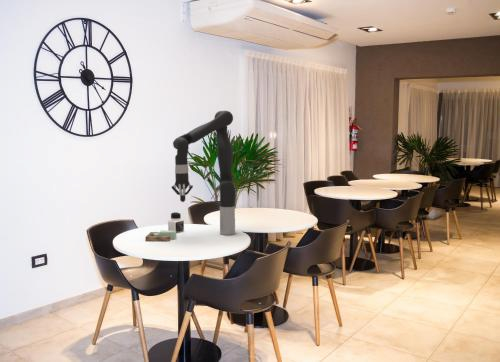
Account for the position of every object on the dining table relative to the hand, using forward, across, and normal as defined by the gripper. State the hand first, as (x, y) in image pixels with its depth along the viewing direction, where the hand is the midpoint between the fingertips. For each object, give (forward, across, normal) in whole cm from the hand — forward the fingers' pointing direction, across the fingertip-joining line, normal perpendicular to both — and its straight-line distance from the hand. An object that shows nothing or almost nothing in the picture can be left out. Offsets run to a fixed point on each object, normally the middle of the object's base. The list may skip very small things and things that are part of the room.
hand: (182, 201), depth 276 cm
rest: (+22, +13, 0) cm, 26 cm away
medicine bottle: (+22, +8, -20) cm, 31 cm away
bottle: (+20, +5, 0) cm, 21 cm away
